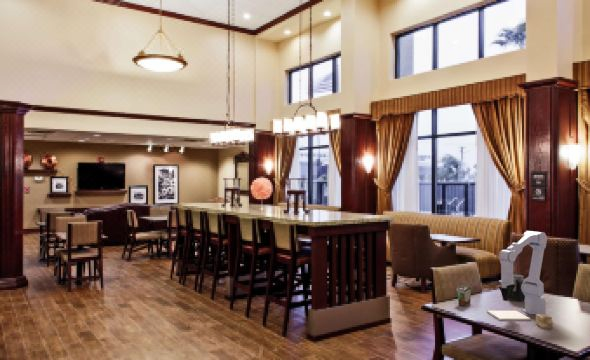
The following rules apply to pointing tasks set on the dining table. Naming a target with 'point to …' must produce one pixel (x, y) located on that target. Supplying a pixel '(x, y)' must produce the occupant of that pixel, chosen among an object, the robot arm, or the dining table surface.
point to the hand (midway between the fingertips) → (507, 299)
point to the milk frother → (517, 289)
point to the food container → (464, 295)
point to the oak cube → (543, 320)
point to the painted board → (509, 316)
